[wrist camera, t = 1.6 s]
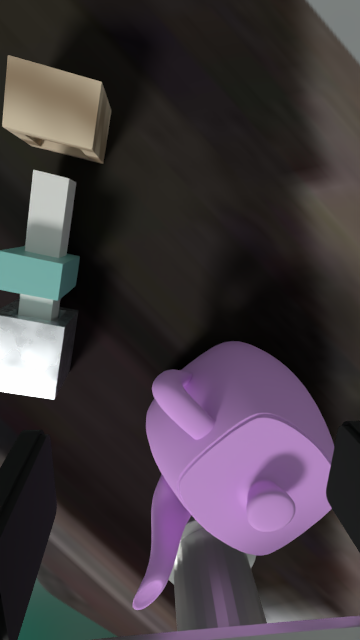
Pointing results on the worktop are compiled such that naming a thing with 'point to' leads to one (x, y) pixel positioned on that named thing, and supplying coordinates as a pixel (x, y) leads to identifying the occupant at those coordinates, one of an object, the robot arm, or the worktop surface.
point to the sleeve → (35, 351)
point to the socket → (56, 110)
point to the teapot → (233, 456)
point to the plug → (43, 250)
